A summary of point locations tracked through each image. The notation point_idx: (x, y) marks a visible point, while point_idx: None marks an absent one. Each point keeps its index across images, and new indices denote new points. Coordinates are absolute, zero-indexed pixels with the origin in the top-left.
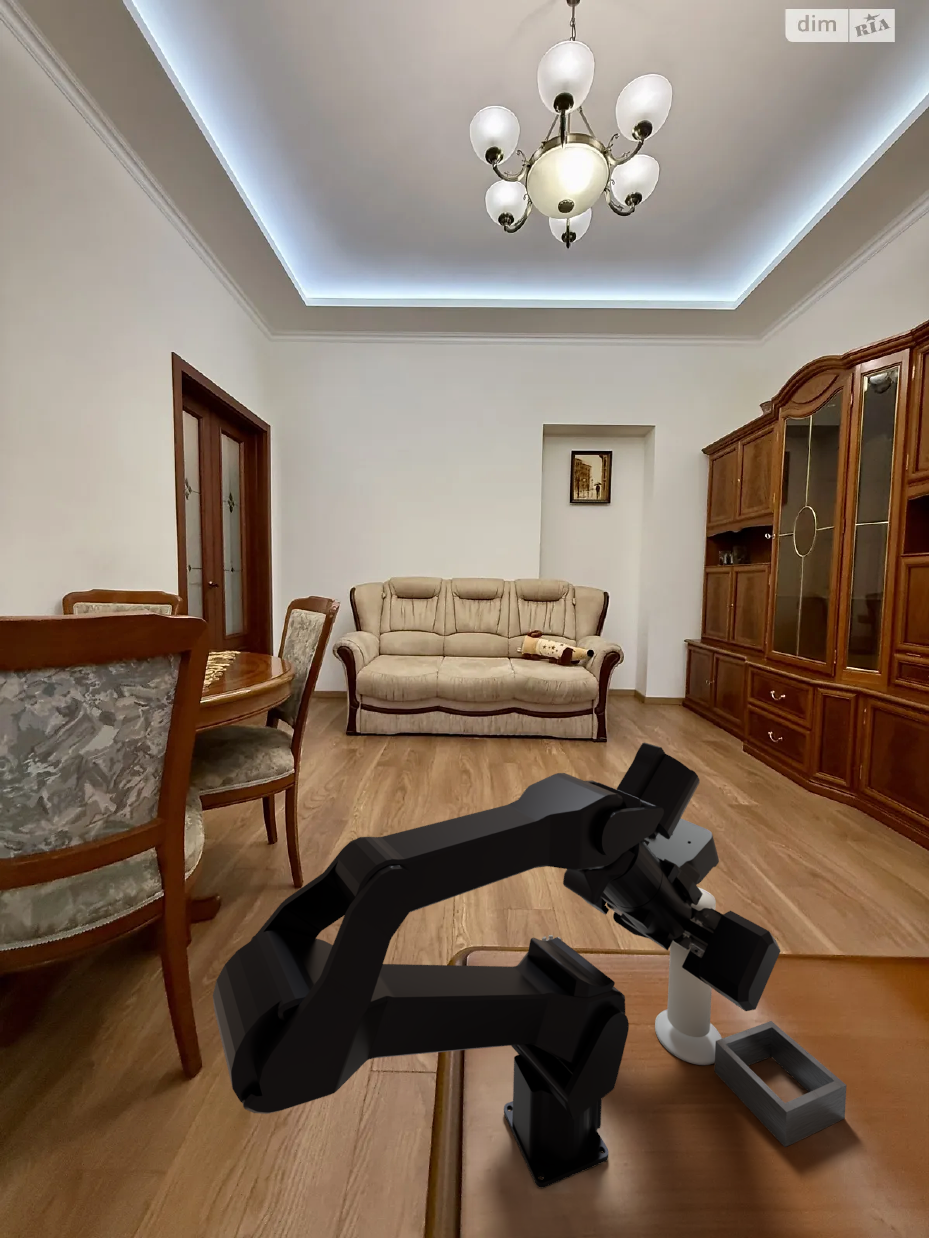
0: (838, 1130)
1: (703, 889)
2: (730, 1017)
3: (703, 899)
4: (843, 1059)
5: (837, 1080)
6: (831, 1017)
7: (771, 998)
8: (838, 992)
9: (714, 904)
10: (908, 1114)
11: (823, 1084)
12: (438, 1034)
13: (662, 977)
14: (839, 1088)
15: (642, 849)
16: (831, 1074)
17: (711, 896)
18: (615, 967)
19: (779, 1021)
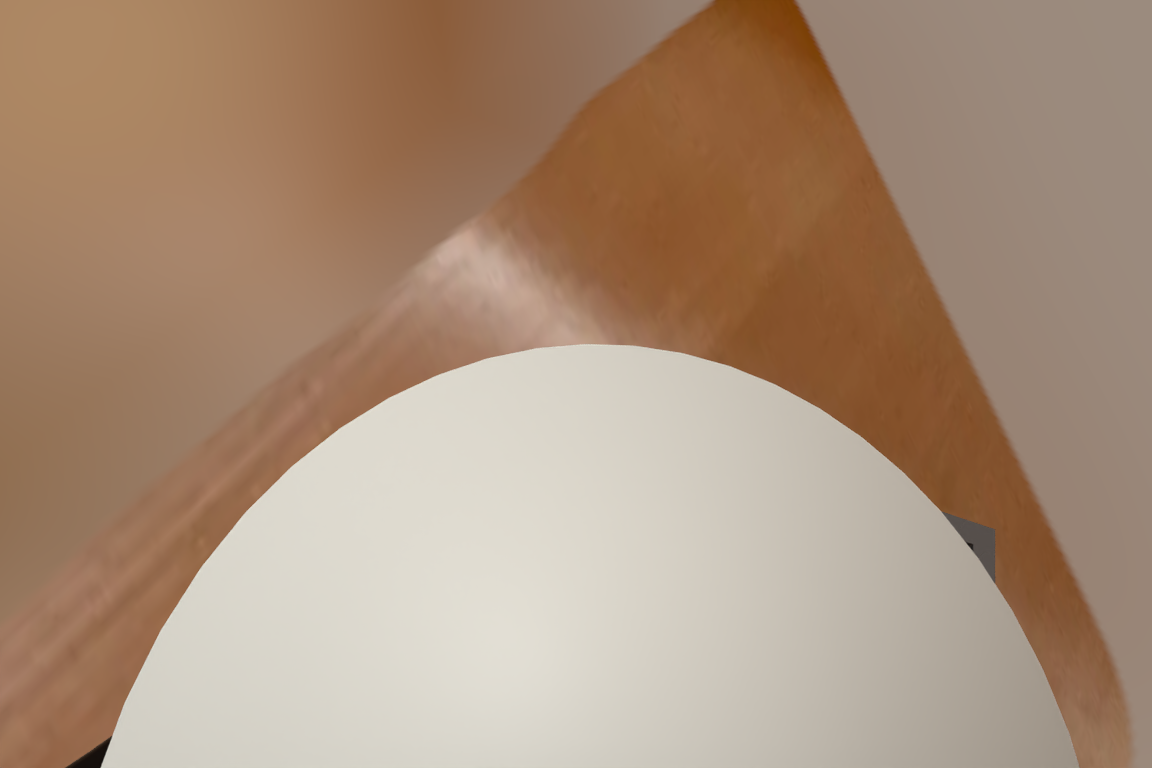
0: None
1: (614, 348)
2: None
3: (833, 724)
4: (821, 345)
5: (976, 535)
6: (737, 223)
7: (610, 267)
8: (705, 126)
9: (1047, 700)
10: (971, 401)
11: None
12: None
13: (313, 446)
14: (994, 562)
15: None
16: (954, 524)
17: (842, 469)
18: (124, 554)
19: (666, 338)
